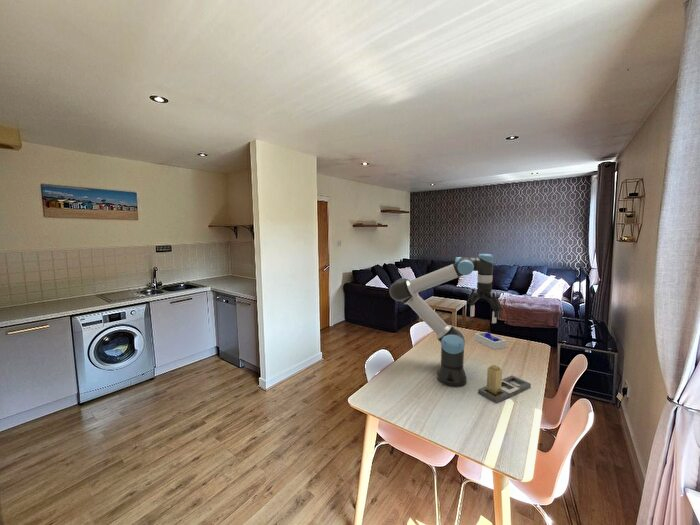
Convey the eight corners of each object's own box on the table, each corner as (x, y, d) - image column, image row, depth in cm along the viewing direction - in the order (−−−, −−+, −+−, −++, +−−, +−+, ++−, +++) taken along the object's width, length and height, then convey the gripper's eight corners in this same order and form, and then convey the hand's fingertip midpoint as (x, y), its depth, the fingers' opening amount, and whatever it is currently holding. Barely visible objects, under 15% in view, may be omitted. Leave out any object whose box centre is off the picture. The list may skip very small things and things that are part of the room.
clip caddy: (494, 349, 198) (494, 342, 198) (474, 340, 215) (475, 333, 215) (505, 347, 201) (505, 340, 201) (485, 338, 218) (485, 331, 218)
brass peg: (494, 398, 141) (496, 369, 139) (486, 394, 145) (487, 366, 143) (500, 396, 143) (502, 367, 142) (492, 391, 147) (493, 363, 146)
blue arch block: (483, 341, 214) (483, 333, 213) (488, 340, 214) (489, 332, 213) (492, 347, 202) (492, 339, 201) (498, 347, 202) (498, 339, 201)
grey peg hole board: (496, 403, 137) (496, 399, 137) (478, 393, 146) (478, 389, 146) (530, 387, 151) (530, 383, 151) (511, 378, 160) (512, 374, 159)
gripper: (510, 285, 151) (508, 324, 154) (469, 278, 173) (468, 312, 175) (502, 286, 147) (499, 327, 150) (461, 279, 169) (459, 314, 171)
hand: (482, 319), depth 163 cm, fingers open, 13 cm apart
